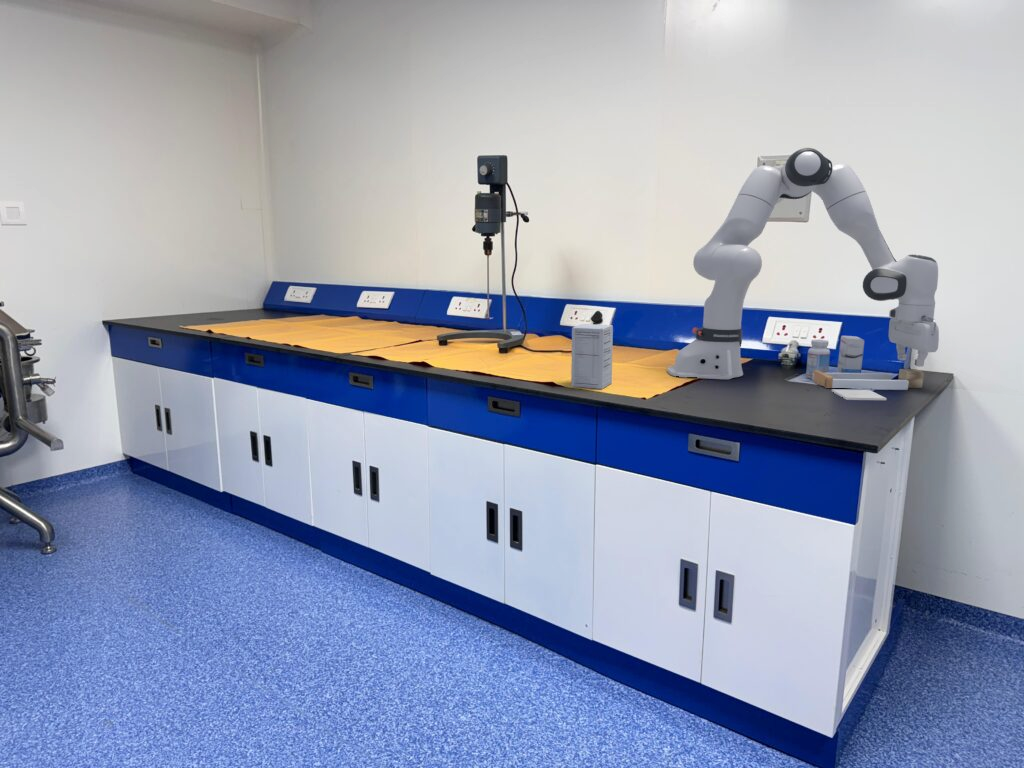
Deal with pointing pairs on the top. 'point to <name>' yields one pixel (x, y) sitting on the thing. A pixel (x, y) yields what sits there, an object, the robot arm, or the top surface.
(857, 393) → the tile
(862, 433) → the top surface
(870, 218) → the robot arm
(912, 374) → the cube
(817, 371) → the channel
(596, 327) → the supplement box
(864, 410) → the top surface
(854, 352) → the ink box
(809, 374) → the pill bottle
